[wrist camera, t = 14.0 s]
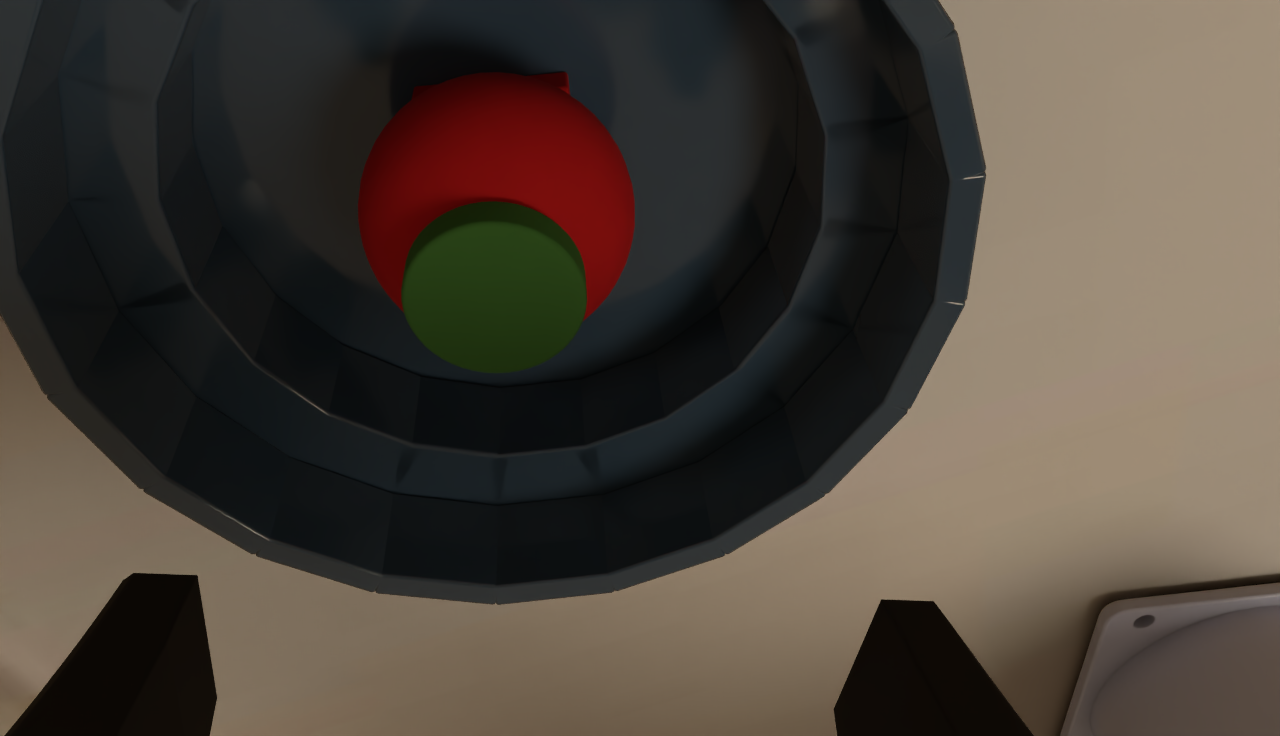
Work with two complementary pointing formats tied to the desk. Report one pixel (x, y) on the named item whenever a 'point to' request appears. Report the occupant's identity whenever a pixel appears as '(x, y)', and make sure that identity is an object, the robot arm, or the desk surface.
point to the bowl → (377, 328)
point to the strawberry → (496, 217)
